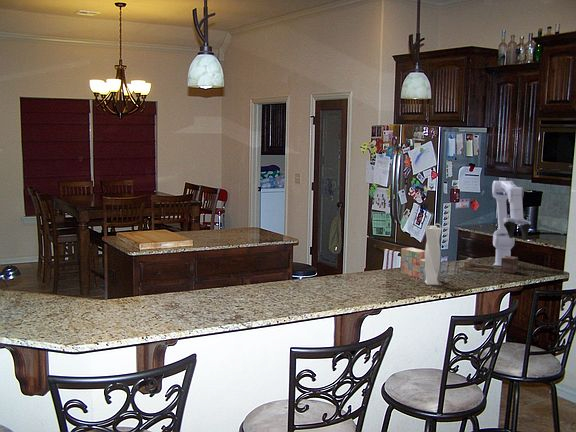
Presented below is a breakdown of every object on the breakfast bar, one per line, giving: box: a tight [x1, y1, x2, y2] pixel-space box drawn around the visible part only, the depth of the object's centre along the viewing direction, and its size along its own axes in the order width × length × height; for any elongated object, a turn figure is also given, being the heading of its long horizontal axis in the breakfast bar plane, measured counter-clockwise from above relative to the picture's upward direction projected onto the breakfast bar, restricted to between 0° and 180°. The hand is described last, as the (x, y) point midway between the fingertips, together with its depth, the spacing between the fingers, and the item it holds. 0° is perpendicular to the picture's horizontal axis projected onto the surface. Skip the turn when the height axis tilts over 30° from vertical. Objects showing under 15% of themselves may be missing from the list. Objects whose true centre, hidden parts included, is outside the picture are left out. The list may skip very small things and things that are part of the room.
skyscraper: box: [423, 223, 443, 286], centre depth 289 cm, size 8×8×28 cm
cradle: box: [463, 257, 494, 273], centre depth 324 cm, size 12×12×5 cm
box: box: [500, 256, 519, 274], centre depth 317 cm, size 6×6×7 cm
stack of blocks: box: [400, 247, 426, 281], centre depth 305 cm, size 21×6×12 cm, turn 25°
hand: (518, 238), depth 305 cm, fingers open, 7 cm apart
